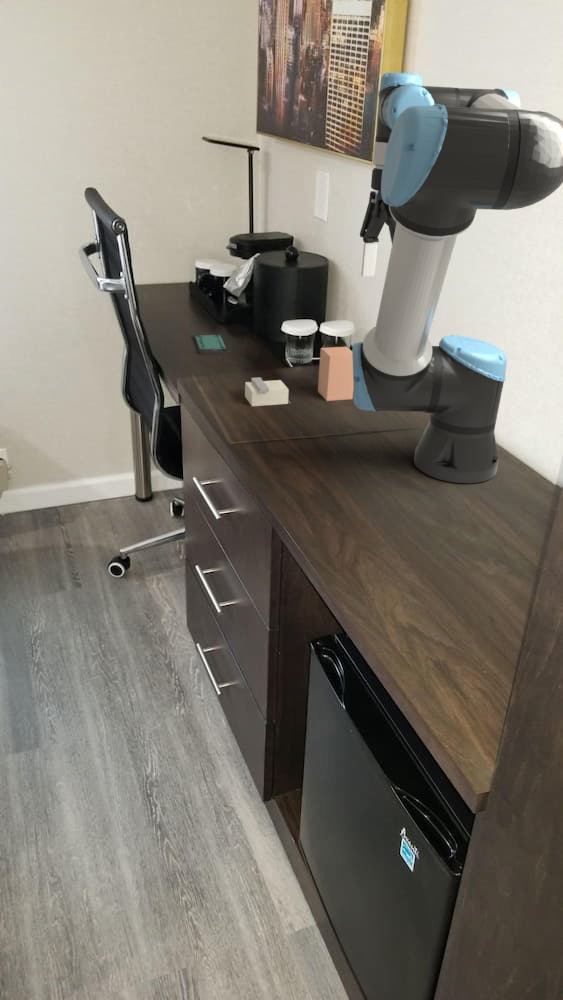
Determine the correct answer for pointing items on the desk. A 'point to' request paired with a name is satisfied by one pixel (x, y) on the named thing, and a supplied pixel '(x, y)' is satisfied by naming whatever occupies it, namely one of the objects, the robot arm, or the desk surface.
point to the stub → (336, 373)
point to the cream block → (266, 392)
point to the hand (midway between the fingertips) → (380, 283)
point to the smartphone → (210, 344)
